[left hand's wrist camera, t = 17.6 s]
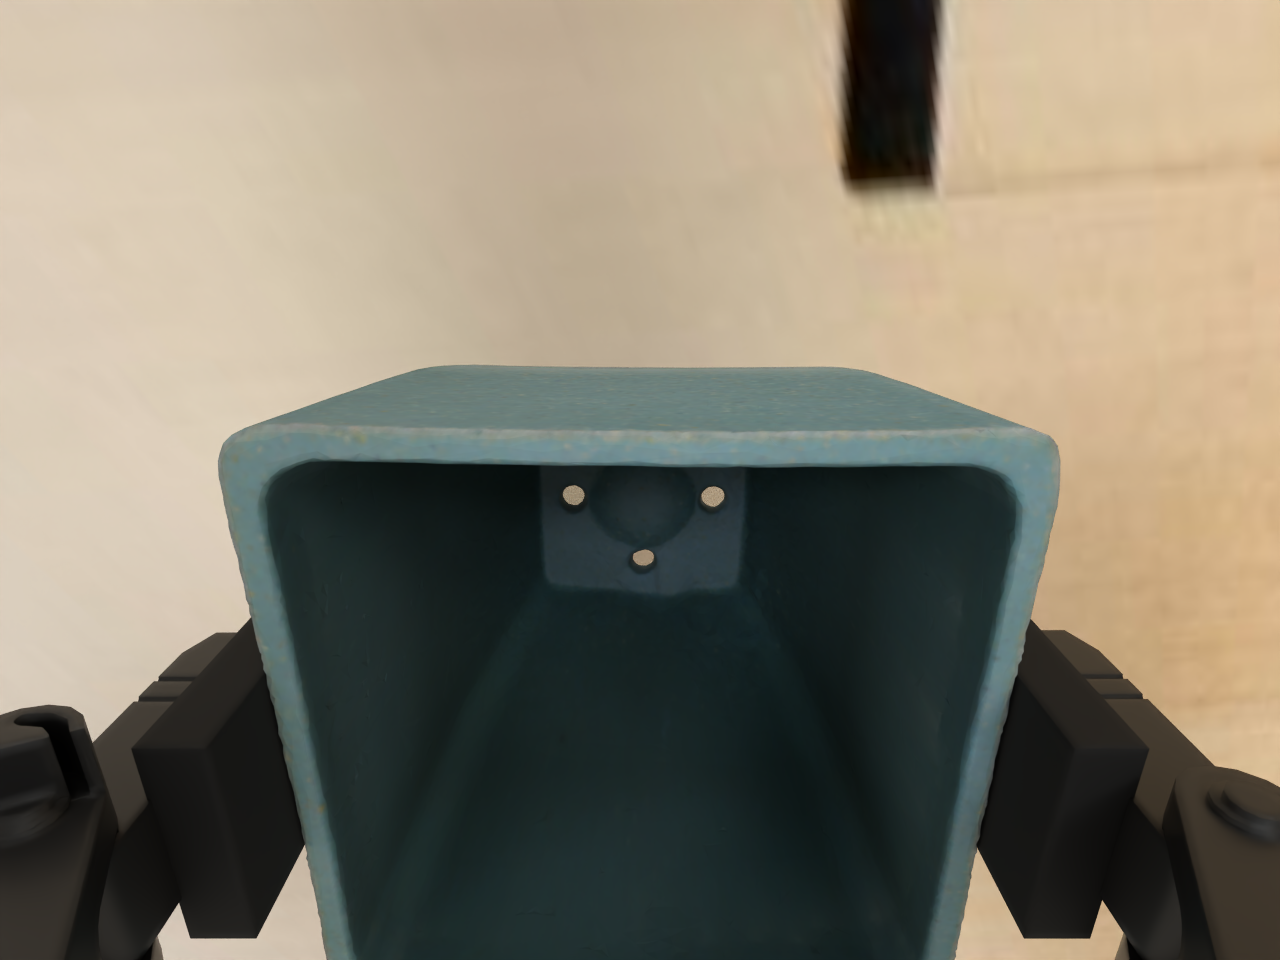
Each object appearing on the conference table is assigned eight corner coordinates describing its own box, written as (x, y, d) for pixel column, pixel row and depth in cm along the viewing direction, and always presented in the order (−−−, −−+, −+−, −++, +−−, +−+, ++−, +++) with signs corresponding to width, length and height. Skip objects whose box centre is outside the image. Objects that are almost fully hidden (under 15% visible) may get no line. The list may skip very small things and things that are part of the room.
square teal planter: (468, 653, 19) (331, 1019, 10) (433, 303, 16) (196, 427, 7) (810, 653, 19) (947, 1019, 10) (845, 303, 16) (1081, 427, 7)
